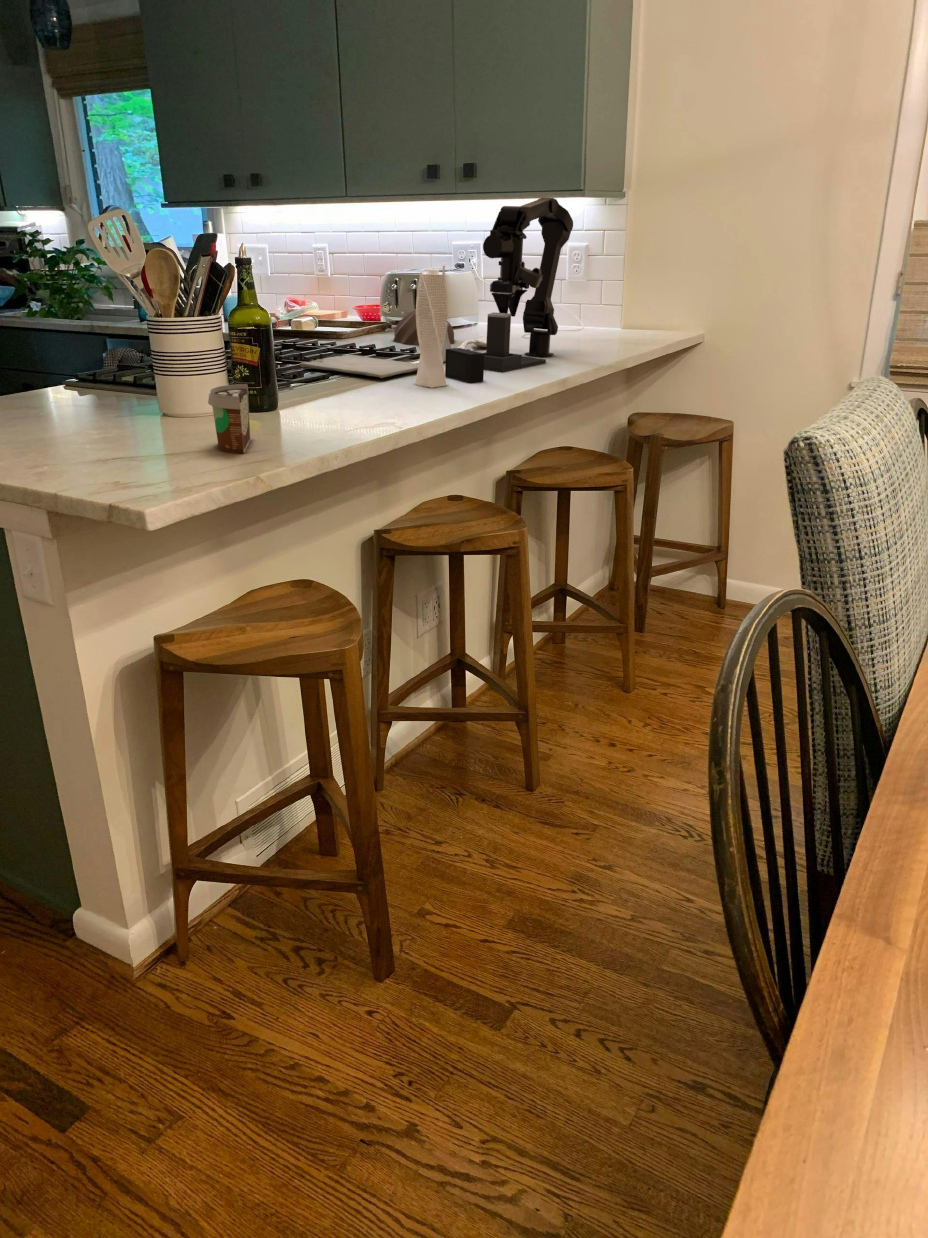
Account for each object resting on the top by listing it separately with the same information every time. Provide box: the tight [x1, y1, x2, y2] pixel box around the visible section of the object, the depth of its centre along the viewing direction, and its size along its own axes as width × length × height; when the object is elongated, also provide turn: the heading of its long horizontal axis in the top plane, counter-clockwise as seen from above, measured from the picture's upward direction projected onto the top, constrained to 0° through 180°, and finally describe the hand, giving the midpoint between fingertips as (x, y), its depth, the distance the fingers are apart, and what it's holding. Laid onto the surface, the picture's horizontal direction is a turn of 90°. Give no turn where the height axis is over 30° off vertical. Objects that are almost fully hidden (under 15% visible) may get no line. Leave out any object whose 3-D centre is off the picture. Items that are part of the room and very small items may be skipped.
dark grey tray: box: [483, 351, 547, 373], centre depth 258 cm, size 22×16×4 cm
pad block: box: [485, 312, 512, 358], centre depth 250 cm, size 5×5×13 cm
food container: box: [207, 383, 251, 454], centre depth 164 cm, size 12×6×10 cm, turn 5°
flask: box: [441, 323, 452, 363], centre depth 259 cm, size 7×7×10 cm
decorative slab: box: [299, 354, 419, 379], centre depth 242 cm, size 27×21×2 cm
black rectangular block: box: [444, 347, 485, 384], centre depth 234 cm, size 10×5×7 cm, turn 39°
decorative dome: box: [393, 309, 455, 346], centre depth 293 cm, size 19×20×10 cm
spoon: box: [457, 336, 487, 349], centre depth 278 cm, size 9×32×4 cm, turn 153°
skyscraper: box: [415, 262, 449, 389], centre depth 221 cm, size 8×8×28 cm
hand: (508, 317), depth 256 cm, fingers open, 9 cm apart
